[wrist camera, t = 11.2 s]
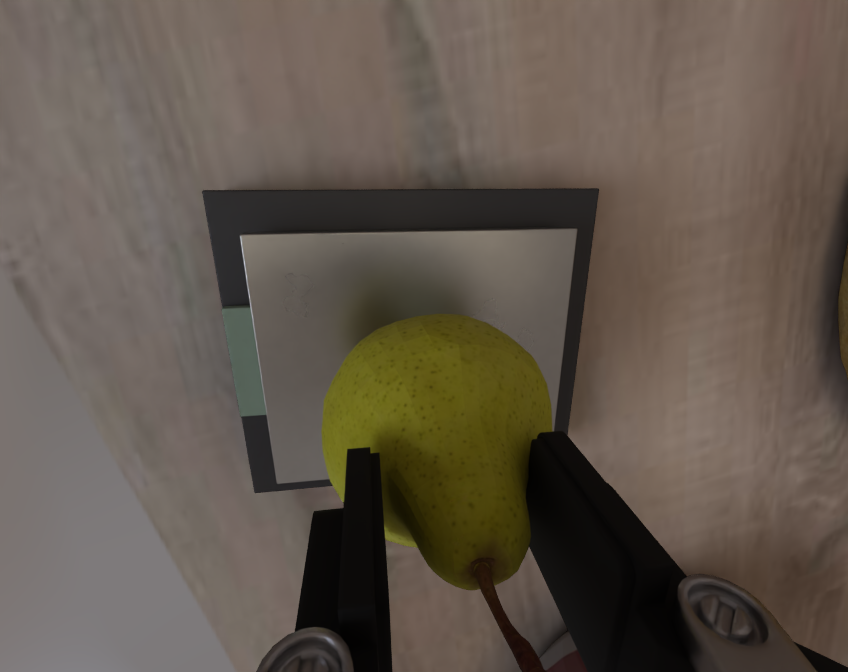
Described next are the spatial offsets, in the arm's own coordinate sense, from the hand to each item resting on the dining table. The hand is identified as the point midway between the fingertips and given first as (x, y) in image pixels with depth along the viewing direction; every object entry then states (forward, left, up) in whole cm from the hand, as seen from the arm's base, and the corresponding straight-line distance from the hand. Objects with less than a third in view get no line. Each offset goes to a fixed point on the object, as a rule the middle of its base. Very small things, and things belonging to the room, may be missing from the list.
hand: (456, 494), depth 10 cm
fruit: (0, 0, -7) cm, 7 cm away
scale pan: (0, 0, -9) cm, 9 cm away
